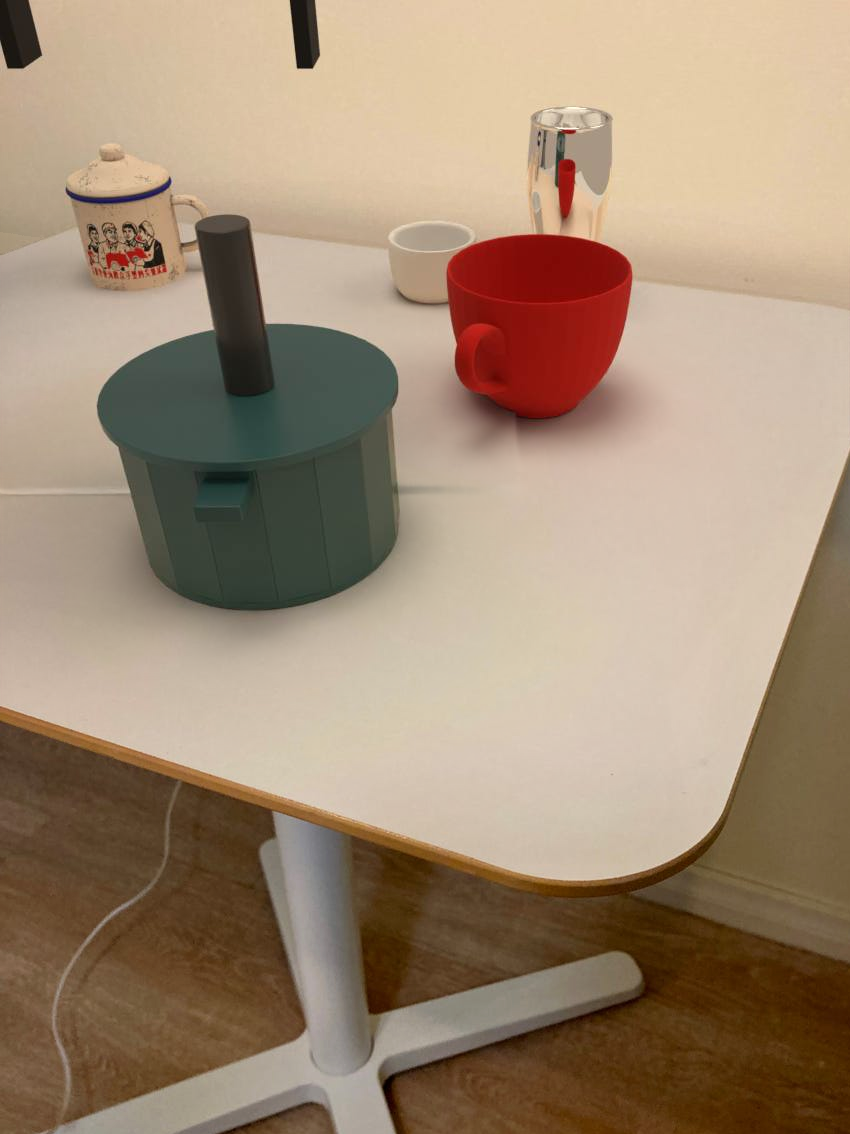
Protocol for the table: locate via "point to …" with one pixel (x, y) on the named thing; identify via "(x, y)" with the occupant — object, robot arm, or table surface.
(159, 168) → the teacup with lid
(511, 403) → the ceramic cup
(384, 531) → the pot
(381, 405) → the lid
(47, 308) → the table surface
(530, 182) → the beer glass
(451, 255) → the teacup
